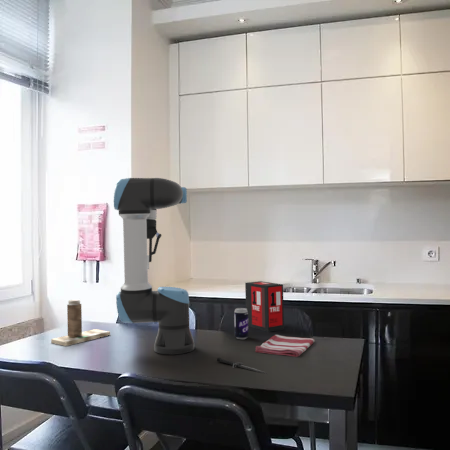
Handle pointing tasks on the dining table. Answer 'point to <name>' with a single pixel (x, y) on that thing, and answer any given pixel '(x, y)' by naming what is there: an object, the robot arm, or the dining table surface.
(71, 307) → the brown cylinder
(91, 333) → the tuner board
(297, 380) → the dining table surface
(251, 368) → the knife
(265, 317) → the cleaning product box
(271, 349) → the dish towel
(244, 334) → the beverage can
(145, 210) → the robot arm
